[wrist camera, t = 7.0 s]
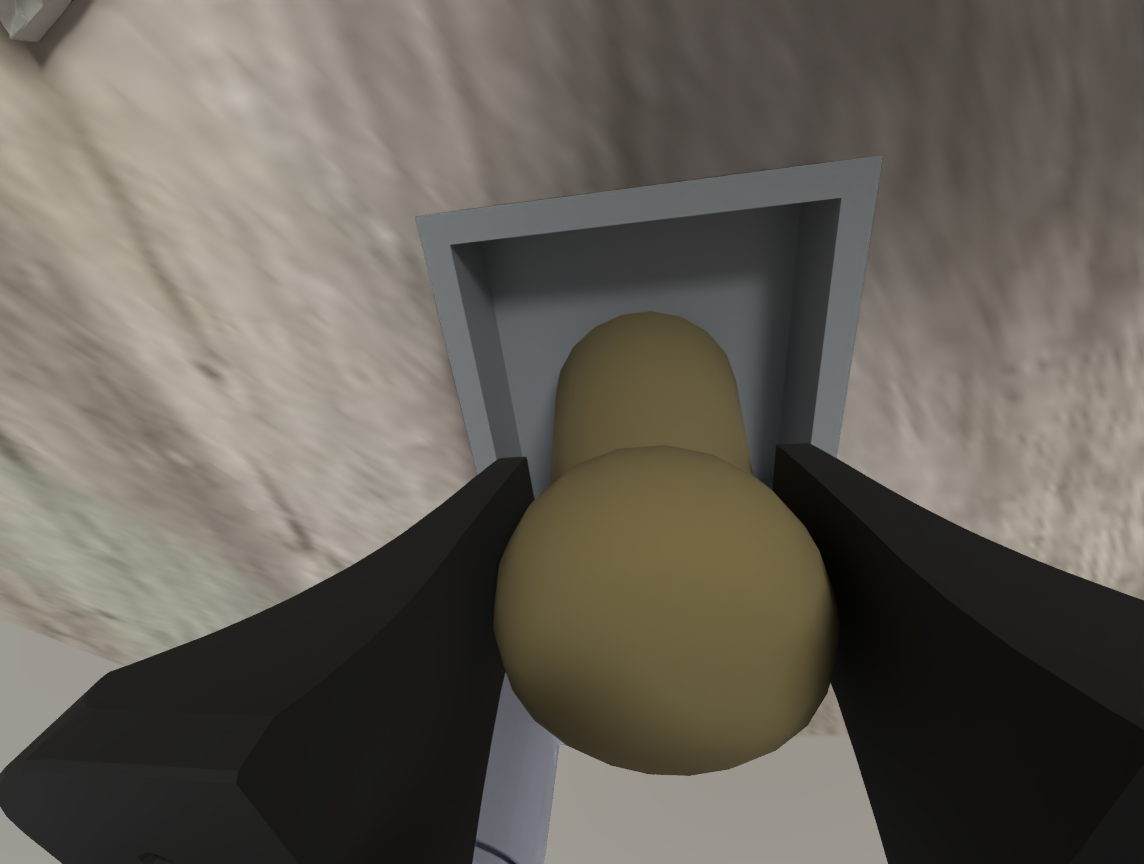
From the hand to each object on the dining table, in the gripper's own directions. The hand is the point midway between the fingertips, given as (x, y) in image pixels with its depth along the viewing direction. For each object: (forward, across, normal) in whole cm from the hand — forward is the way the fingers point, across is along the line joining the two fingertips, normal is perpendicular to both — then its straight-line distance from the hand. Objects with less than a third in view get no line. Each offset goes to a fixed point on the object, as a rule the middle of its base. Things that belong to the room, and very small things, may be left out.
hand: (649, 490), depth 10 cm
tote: (+8, 0, 0) cm, 8 cm away
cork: (+6, 0, +1) cm, 7 cm away
